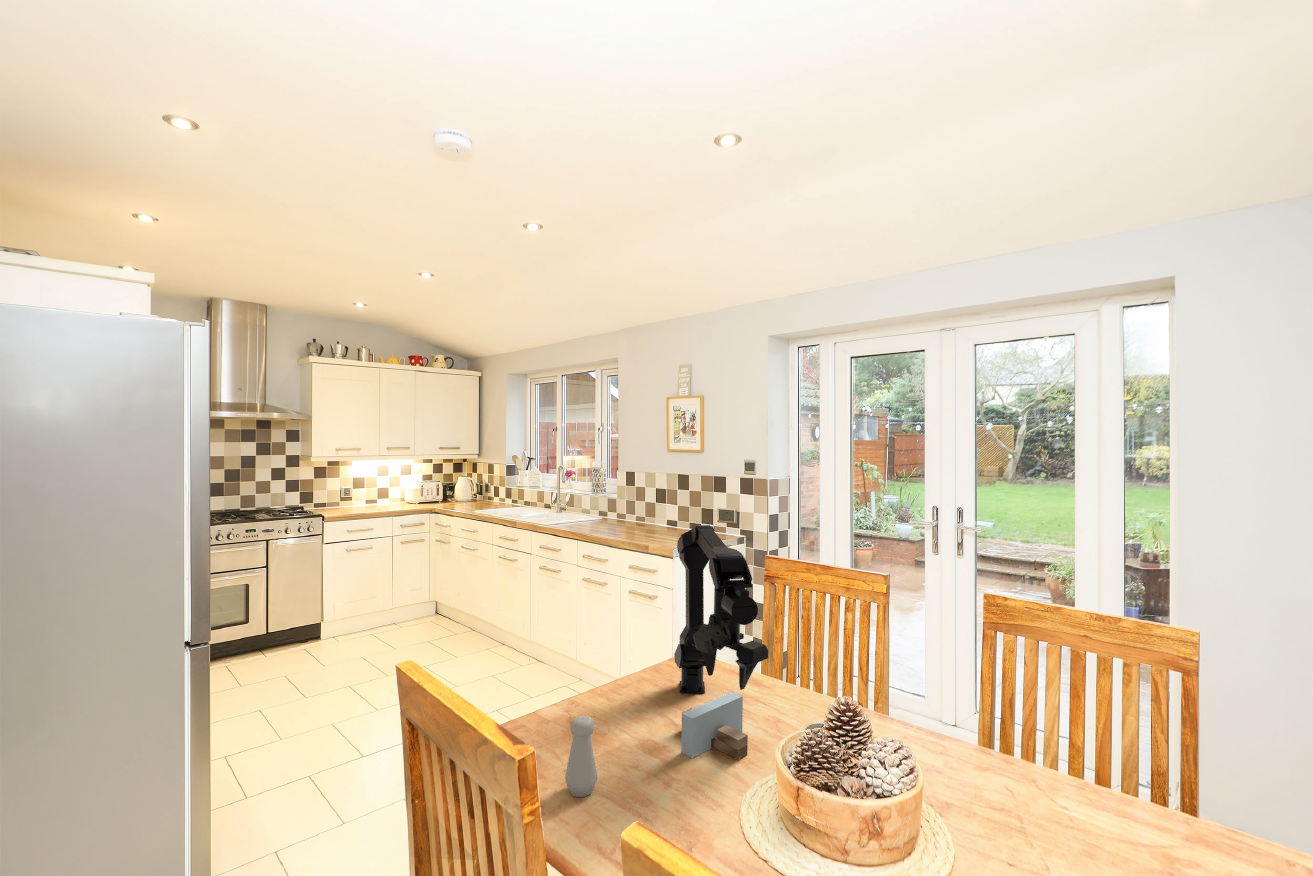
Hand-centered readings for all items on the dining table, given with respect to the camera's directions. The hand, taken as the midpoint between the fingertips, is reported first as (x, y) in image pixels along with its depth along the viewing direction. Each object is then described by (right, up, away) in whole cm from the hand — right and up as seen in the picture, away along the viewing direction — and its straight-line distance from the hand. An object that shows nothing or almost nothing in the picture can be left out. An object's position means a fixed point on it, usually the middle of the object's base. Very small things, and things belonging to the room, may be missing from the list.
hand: (725, 682), depth 126 cm
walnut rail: (-3, -12, -3) cm, 12 cm away
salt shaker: (-29, -11, -21) cm, 37 cm away
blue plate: (-3, -12, -3) cm, 12 cm away
